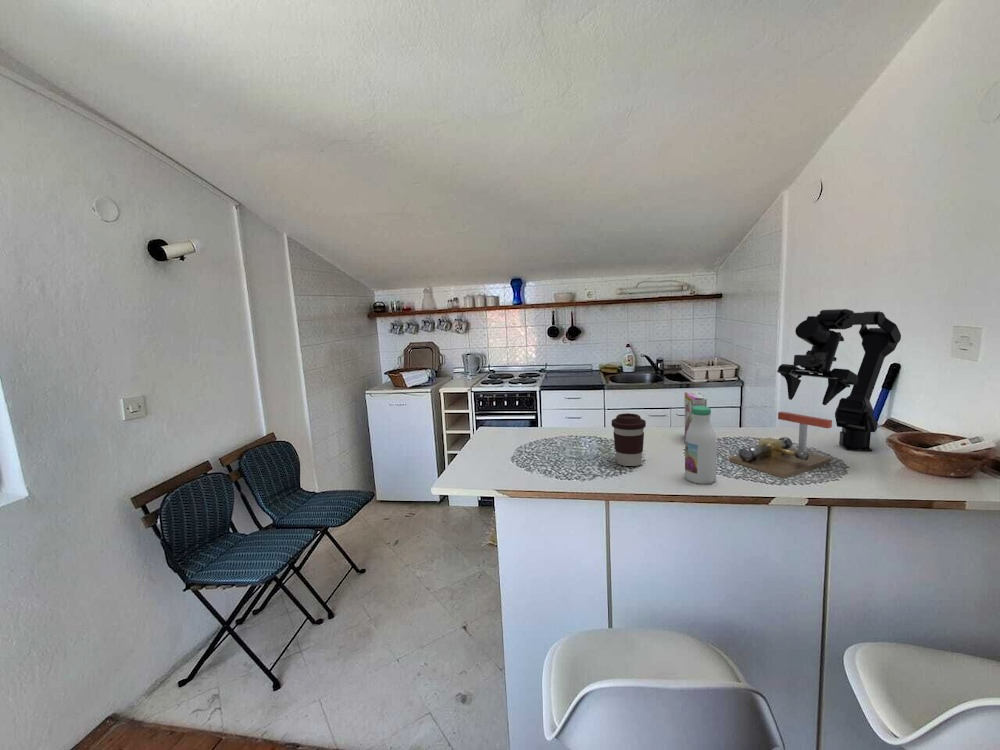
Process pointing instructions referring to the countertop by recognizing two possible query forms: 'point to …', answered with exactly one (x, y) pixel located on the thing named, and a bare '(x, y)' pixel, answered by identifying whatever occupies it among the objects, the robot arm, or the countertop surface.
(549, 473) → the countertop surface
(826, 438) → the countertop surface
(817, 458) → the valve on board
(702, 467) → the milk bottle
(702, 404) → the candy bar box
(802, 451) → the valve lever
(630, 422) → the coffee cup
